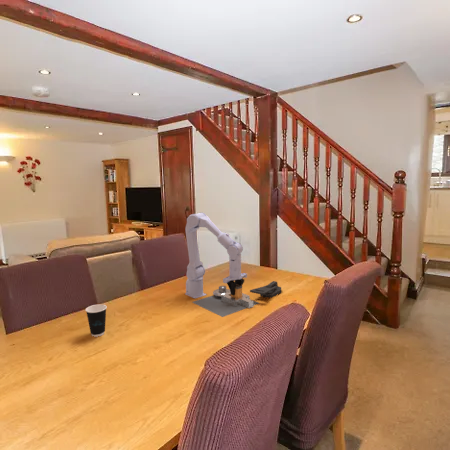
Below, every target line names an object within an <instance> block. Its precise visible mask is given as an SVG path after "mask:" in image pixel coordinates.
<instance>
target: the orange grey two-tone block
mask: <svg viewBox="0 0 450 450" xmlns="http://www.w3.org/2000/svg"><path fill="white" fill-rule="evenodd" d="M242 293H243V285H242V286H241V285H238V284H236V287H235V295H231V296H232V297H234V298H239V297H242Z"/></svg>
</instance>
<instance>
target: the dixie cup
mask: <svg viewBox="0 0 450 450" xmlns="http://www.w3.org/2000/svg"><path fill="white" fill-rule="evenodd" d="M107 308H108V307H107V305H106V304H99V303H98V304H93V305H89V306H88V307H86V308H85V309H84V310H85V312H86V317H87V322H88V327H89V332H90V335H91V337H93V336H94V338H98V336H99V337H102V336H104V335H105V331H106V321H107V319H106V315H107Z"/></svg>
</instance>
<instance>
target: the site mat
mask: <svg viewBox="0 0 450 450" xmlns="http://www.w3.org/2000/svg"><path fill="white" fill-rule="evenodd" d="M191 303H192V304H193V305H197V306H198V307H200V308H202V309H205V310H207V311H209V312H211V313H213V314H216V315H217V316H220V317H221V318H224V317H227V316H229V315H232V314H235V313H238V312H240V311H243V310H245V309H248V308H247V307H244V306H242V305H238V306H235V307H234V306H232V305H230V304H227V303H225V302H223V301H221V297H218V296H215V295H213V294H212V295H211V296H206V297H204V298H200V299H197V300H194V301H192V302H191ZM255 305H260V303H259V302H258V301H255V300H253V307H254V306H255Z"/></svg>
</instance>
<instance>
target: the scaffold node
mask: <svg viewBox="0 0 450 450" xmlns="http://www.w3.org/2000/svg"><path fill="white" fill-rule="evenodd" d="M213 295H215V296H218V297H221V301H223V302H225V303H227V304H230V305H232V306H234V307H235V306H238V305H242V306H244V307H247V308H246V309H251V308H254V306H253V301H254V300H252V299H250V295H249V294H246V293H243V292H242V297H239V298H234V297H232V296H231V292H230V289H229V288H227V286H226V285H219V286H218V289H215V290H213V291H212V296H213Z"/></svg>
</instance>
